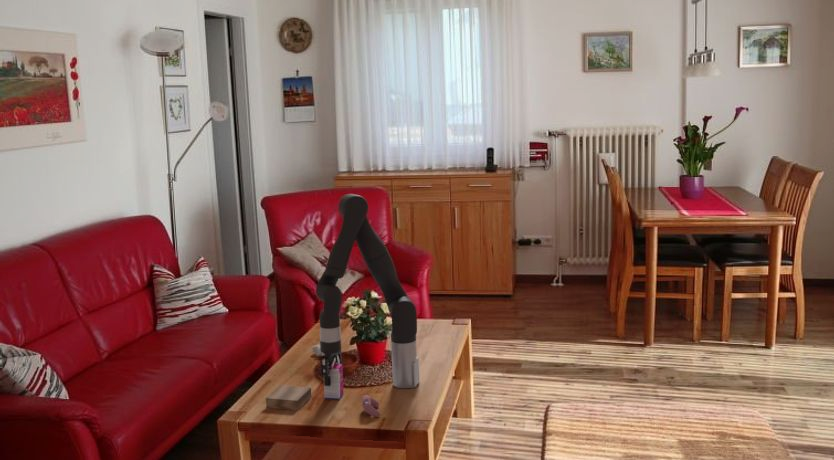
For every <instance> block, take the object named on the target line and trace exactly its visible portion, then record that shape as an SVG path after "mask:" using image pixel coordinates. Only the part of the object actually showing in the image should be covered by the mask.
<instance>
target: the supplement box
mask: <svg viewBox="0 0 834 460" xmlns="http://www.w3.org/2000/svg"><path fill="white" fill-rule="evenodd" d="M343 365H344V364H335V365H334V366H333V370H331V375H330V376H331V385H330V386H325V385H324V384H323V391H324V392H323V396H324V397H323V400H332V401H333V400H335V401H340V399H341V398H342V396H343V395H344V368H343ZM323 371H324V370H323ZM328 372H329V370H328Z"/></svg>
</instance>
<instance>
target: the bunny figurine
mask: <svg viewBox="0 0 834 460" xmlns="http://www.w3.org/2000/svg"><path fill="white" fill-rule="evenodd" d="M311 350H312V353H315V356H316V357H323V356H325V354H324V353H322V352H321V351H320V343H318V344H316V345H314V346H312V348H311Z"/></svg>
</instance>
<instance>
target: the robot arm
mask: <svg viewBox="0 0 834 460" xmlns="http://www.w3.org/2000/svg"><path fill="white" fill-rule="evenodd" d="M338 211H339V213H340V215H341V217H342V219H343V220H342V224H341V227H340V228H341V229H340V231H339V234H338V236H337V238H336V240H335V242H334V244H333V246H332V248H331V249H330V253H329V254H328V257H327V262H326V266H325V269H324V271H323V273H322V275H321V276H320V279H319V280H318V282H317V285H316V288H315V294H316V295H315V296H316V298H317V299H318V300H319V301H320V302H323V309H321V311H320V312H319V344H320V351H321V352H322V353H324V354H325V357H324V358H321V359H320V376H321V377H323V386H324V385H325V386H330V385H331V376H330V375H331V370H333V366H334V365H335V364H342V363H343V357H342V355H343V353H342V330H341V321H340V320H341V319H340V313H341V310H342V309H341V308H342V302H343V301H342V300H343V294H342V291H341V288H339V286H337V283H338V281H339V279H342V278H344V277H345V274H346V272H347V267H348V264H349V261H350V257H351V253H352V250H353V247H354V246H355V245H354V244H355V243H356V245H357V247H358V250H359V252H360V254H361V257H362V259H363V261H364V263H365V265H366V267H367V269H368V272H369V273H370V274H371V276H372V278H373V280H374V281H375V283H376V284H377V285H378V288H380V290H381V293H382V295H383V297H384V300H385V303H386V307H387V310H388V312H389V315H390V316H391V332H390V344H391V345H390V346H391V368H392V385H393V387H394V388H397V389H411V388H412V389H414V388H416V387H418V384H419V383H420V369H419V368H420V364H419V362H420V359H419V357H418V356H417V355H418V353H417V333H418V319H417V318H418V312H417V307H416V305H415V303H413V301H412V300H411V298H410V297H409V296H408V294H407V293H406V291H405V290H404V288H403V286H402V284H401V282H400V280H399V277H398V274H397V269H396V267H395V264H394V260H393V259H392V257H391V255H390V253H389V252H390V251H389V250H388V248H387V246H386V245H385V243H384V241H383V240H382V239H381V237H380V236H379V234H378V233H377V232H376V231H375V229H374V228H373V227H372V225H371V223H370V220H369V219H368V216H367V214H368V213H369V204H368V201H367V200H366V198H365V197H363V196H361V195H358V194H354V193H348V194H347V193H346V194H344V195H343V196H341V198H340V199H339V201H338ZM342 365H343V364H342ZM323 370H324V371H323ZM328 370H329V372H328Z"/></svg>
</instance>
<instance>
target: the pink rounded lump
mask: <svg viewBox="0 0 834 460" xmlns="http://www.w3.org/2000/svg"><path fill="white" fill-rule="evenodd" d="M361 406H362V408H363V410H364V412H365V413H366V414H367V415H370V416H372V417H373V418H379V417H380V416H381V413H380V411H378V409H376V408H378V407H379V406H380V404H379V402H378V401H377V400H376V399H375V398H373V397H371V396H370V395H368V394H365V395H363V396H361Z"/></svg>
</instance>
